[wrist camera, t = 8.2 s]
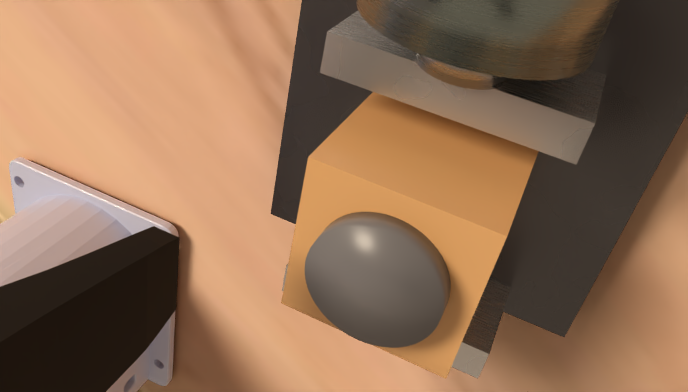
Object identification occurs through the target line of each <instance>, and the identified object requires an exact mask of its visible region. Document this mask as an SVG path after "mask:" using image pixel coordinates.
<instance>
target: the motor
mask: <svg viewBox="0 0 688 392" xmlns="http://www.w3.org/2000/svg"><path fill="white" fill-rule="evenodd" d="M373 92H375V93H378V94H381V95H384V96H386V97H389V98H392V99H395V100H398V101H400V102H403V103H406V104H409V105H412V106H414V107H417V108H420V109H423V110H425V111H428V112H431V113H434V114H437V115H439V116H442V117H445V118H448V119H451V120H453V121H456V122H459V123H462V124H464V125H467V126H470V127H473V128H476V129H478V130H481V131H484V132H487V133H489V134H492V135H495V136H498V137H501V138H503V139H506V140H509V141H512V142H515V143H517V144H520V145H523V146H526V147H528V148H531V149H534V150H537V151H539V152H538V154H537V157H536V160H535V162H534V165H533V168H532V171H531V173H530V176H529V179H528V181H527V184H526V187H525V190H524V192H523V195H522V198H521V200H520V203H519V206H518V209H517V211H516V214H515V217H514V219H513V222H512V225H511V228H510V230H509V233H508V236H507V238H506V240H505V243H504V245H503V247H502V250H501V252H500V254H499V257H498V259H497V261H496V264H495V266H494V268H493V271H492V273H491V275H490V278H489V280H488V282H487V285H486V287H485V289H484V292H483V294H482V296H481V299H480V301H479V303H478V306H477V308H476V310H475V313H474V315H473V317H472V320H471V322H470V324H469V327H468V329H467V331H466V334H465V336H464V338H463V341H462V343H461V345H460V347H459V350H458V352H457V354H456V357H455V359H454V361H453V364H452V366H451V367H453V368H455V369H458V370H460V371H462V372H464V373H467V374H469V375H471V376H473V377H476V378H478V377H479V375H480V373H481V371H482V369H483V366H484V364H485V362H486V360H487V358H488V355H489V353H490V350H491V347H492V344H493V341H494V338H495V334H496V331H497V328H498V325H499V322H500V319H501V316H502V313H503V312H505V313H508V314H510V315H513V316H515V317H517V318H520V319H522V320H524V321H527V322H529V323H532V324H534V325H536V326H539V327H541V328H543V329H546V330H548V331H551V332H553V333H555V334H558V335H560V336H563V337H565V335H566V333H567V331H568V330H569V328H570V326H571V324H572V322H573V320H574V319H575V317H576V315H577V313H578V311H579V309H580V308H581V306H582V304H583V302H584V300H585V298H586V297H587V295H588V293H589V291H590V289H591V287H592V286H593V284H594V282H595V280H596V278H597V276H598V275H599V273H600V271H601V269H602V267H603V266H604V264H605V262H606V260H607V258H608V256H609V255H610V253H611V251H612V249H613V247H614V245H615V244H616V242H617V240H618V238H619V236H620V234H621V233H622V231H623V229H624V227H625V225H626V223H627V222H628V220H629V218H630V216H631V214H632V212H633V211H634V209H635V207H636V205H637V203H638V202H639V200H640V198H641V196H642V194H643V192H644V191H645V189H646V187H647V185H648V183H649V181H650V180H651V178H652V176H653V174H654V172H655V170H656V169H657V167H658V165H659V163H660V161H661V159H662V158H663V156H664V154H665V152H666V150H667V148H668V147H669V145H670V143H671V141H672V139H673V138H674V136H675V134H676V132H677V130H678V128H679V127H680V125H681V123H682V121H683V119H684V117H685V116H686V114H687V112H688V0H302V4H301V11H300V18H299V24H298V31H297V38H296V45H295V52H294V59H293V65H292V72H291V79H290V86H289V93H288V100H287V106H286V113H285V120H284V127H283V134H282V141H281V147H280V154H279V161H278V168H277V175H276V182H275V188H274V195H273V202H272V209H271V214H273V215H275V216H277V217H280V218H282V219H284V220H287V221H289V222H292V223H294V224H296V220H297V215H298V209H299V204H300V199H301V193H302V188H303V182H304V177H305V172H306V166H307V161H308V157H309V156H310V155H311V154H312V153H313V152H314V151H315V150H316V149H317V148H318V147H319V146H320V145H321V144H322V143H323V142H324V141H325V140H326V139H327V138H328V137H329V136H330V135H331V134H332V133H333V132H334V131H335V130H336V129H337V128H338V127H339V126H340V125H341V124H342V123H343V122H344V121H345V120H346V119H347V118H348V117H349V116H350V115H351V114H352V113H353V112H354V111H355V110H356V109H357V108H358V107H359V106H360V105H361V104H362V103H363V102H364V101H365V100H366V99H367V98H368V97H369V96H370V95H371V94H372V93H373ZM288 264H289V263H288ZM288 264H287V265H286V271H285V277H284V283H283V288H282V291H284V285H285V280H286V274H287V269H288Z"/></svg>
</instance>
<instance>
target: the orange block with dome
mask: <svg viewBox="0 0 688 392" xmlns="http://www.w3.org/2000/svg"><path fill="white" fill-rule="evenodd" d="M538 152H539V151H537V150H534V149H531V148H528V147H526V146H523V145H520V144H517V143H515V142H512V141H509V140H506V139H503V138H501V137H498V136H495V135H492V134H489V133H487V132H484V131H481V130H478V129H476V128H473V127H470V126H467V125H464V124H462V123H459V122H456V121H453V120H451V119H448V118H445V117H442V116H439V115H437V114H434V113H431V112H428V111H425V110H423V109H420V108H417V107H414V106H412V105H409V104H406V103H403V102H400V101H398V100H395V99H392V98H389V97H386V96H384V95H381V94H378V93H375V92H373V93H372V94H371V95H370V96H369V97H368V98H367V99H366V100H365V101H364V102H363V103H362V104H361V105H360V106H359V107H358V108H357V109H356V110H355V111H354V112H353V113H352V114H351V115H350V116H349V117H348V118H347V119H346V120H345V121H344V122H343V123H342V124H341V125H340V126H339V127H338V128H337V129H336V130H335V131H334V132H333V133H332V134H331V135H330V136H329V137H328V138H327V139H326V140H325V141H324V142H323V143H322V144H321V145H320V146H319V147H318V148H317V149H316V150H315V151H314V152H313V153H312V154H311V155H310V156H309V157H308V161H307V166H306V172H305V177H304V182H303V188H302V193H301V199H300V204H299V209H298V215H297V220H296V226H295V231H294V237H293V242H292V247H291V253H290V258H289V264H288V269H287V274H286V280H285V285H284V291H283V296H282V301H281V303H282V304H284V305H287V306H289V307H291V308H293V309H295V310H297V311H300V312H302V313H304V314H306V315H308V316H310V317H313V318H315V319H317V320H319V321H321V322H324V323H326V324H328V325H330V326H332V327H334V328H337V329H339V330H341V331H343V332H345V333H346V334H348V335H350V336H351V337H353V338H355V339H357V340H360V341H362V342H365V343H368V344H371V345H374V346H376V347H378V348H380V349H382V350H384V351H387V352H389V353H391V354H393V355H395V356H398V357H400V358H402V359H404V360H406V361H408V362H411V363H413V364H415V365H417V366H419V367H421V368H424V369H426V370H428V371H430V372H432V373H435V374H437V375H439V376H441V377H443V378H445V379H446V378H447V375H448V373H449V371H450V368H451V366H452V364H453V361H454V359H455V357H456V354H457V352H458V350H459V347H460V345H461V343H462V341H463V338H464V336H465V334H466V331H467V329H468V327H469V324H470V322H471V320H472V317H473V315H474V313H475V310H476V308H477V306H478V303H479V301H480V299H481V296H482V294H483V292H484V289H485V287H486V285H487V282H488V280H489V278H490V275H491V273H492V271H493V268H494V266H495V264H496V261H497V259H498V257H499V254H500V252H501V250H502V247H503V245H504V243H505V240H506V238H507V236H508V233H509V230H510V228H511V225H512V222H513V219H514V217H515V214H516V211H517V209H518V206H519V203H520V200H521V198H522V195H523V192H524V190H525V187H526V184H527V181H528V179H529V176H530V173H531V171H532V168H533V165H534V162H535V160H536V157H537V154H538Z"/></svg>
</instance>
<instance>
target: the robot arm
mask: <svg viewBox="0 0 688 392" xmlns="http://www.w3.org/2000/svg"><path fill="white" fill-rule="evenodd" d="M9 170H10V177H11V185H12V192H13V199H14V207H15V215H13V216H11V217H10V218H8V219H7V220H5V221H4V222H2V223H1V224H0V392H137V391H138V390H139V389H140V387H141V386H142V385H143V384H144V383H145V382H146V381H147V380H150V381H152V382H154V383H156V384H158V385H161V386H166V385H168V384H169V382H170V381H171V380H172V373H173V351H174V329H175V310H176V297H177V276H178V255H179V235H178V231H177V229H176V228H175V227H174V226H173V225H172V224H171V223H169V222H167V221H165V220H163V219H160V218H158V217H156V216H154V215H151V214H149V213H147V212H145V211H142V210H140V209H138V208H135V207H133V206H131V205H129V204H126V203H124V202H122V201H120V200H117V199H115V198H113V197H111V196H108V195H106V194H104V193H101V192H99V191H97V190H95V189H92V188H90V187H88V186H86V185H83V184H81V183H79V182H77V181H74V180H72V179H70V178H68V177H65V176H63V175H61V174H58V173H56V172H54V171H52V170H49V169H47V168H45V167H43V166H40V165H38V164H36V163H34V162H31V161H29V160H27V159H24V158H21V157H18V158H16V159H14V160H12V161H11V162H10V163H9Z"/></svg>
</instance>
